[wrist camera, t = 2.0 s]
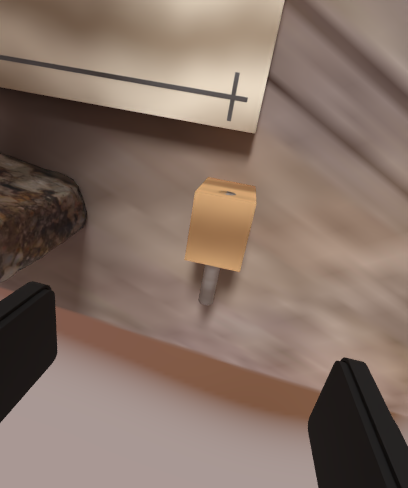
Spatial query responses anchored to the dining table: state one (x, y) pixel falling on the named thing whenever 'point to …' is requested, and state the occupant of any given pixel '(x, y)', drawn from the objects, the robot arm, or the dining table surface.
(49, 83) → the birch board
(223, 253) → the marking gauge
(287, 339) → the dining table surface
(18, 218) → the stone block
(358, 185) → the dining table surface
